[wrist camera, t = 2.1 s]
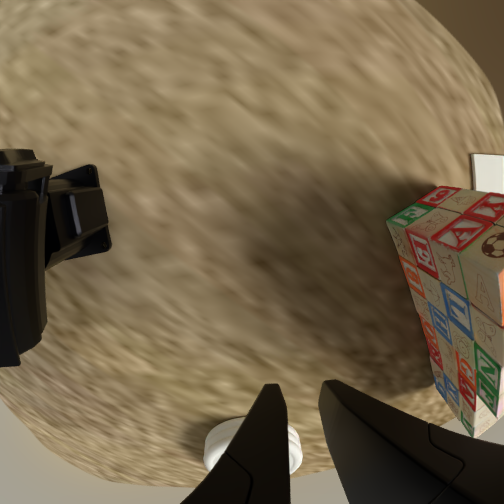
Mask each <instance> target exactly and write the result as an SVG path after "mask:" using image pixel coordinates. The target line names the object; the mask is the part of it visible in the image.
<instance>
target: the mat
mask: <svg viewBox="0 0 504 504" xmlns="http://www.w3.org/2000/svg"><path fill="white" fill-rule="evenodd" d="M471 159H472V170H473V186H474V190H475V191H482V192H488V193H489V192H494V193H500V194H504V156H499V155H483V154H471Z"/></svg>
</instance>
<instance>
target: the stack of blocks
mask: <svg viewBox="0 0 504 504" xmlns="http://www.w3.org/2000/svg"><path fill="white" fill-rule="evenodd" d="M386 224H387V226H388V228H389V231H390V233H391V236H392V238H393V241H394V243H395V246H396V249H397V251H398V254H399V259H400V262H401V265H402V268H403V270H404V273H405V276H406V279H407V282H408V285H409V288H410V291H411V295H412V298H413V301H414V304H415V307H416V310H417V312H418V313H419V317H420V320H421V324H422V327H423V331H424V335H425V337H426V341H427V345H428V349H429V353H430V357H429V358H430V362H431V367H432V372H433V375H434V380H435V385H436V389H437V390H438V391H439V393H440V394H441V395H442V397H443V398H444V400H445V401H446V403H447V404H448V406H449V407H450V408H451V410H452V411H453V413H454V414H455V416H456V417H457V419H458V420H459V421H461V422H462V424H463V425H464V427H465V428H466V430H467V431H468V433H469V434H470V436H471V437H472V438H477V437H478V436H479V435H480V434H482V433H483V432H484V431H485V430H487V429H488V428H489V427H491V426H492V425H493V424H494V423H495V422H496V421H497V420H498V419H500V418H501V417H502V416H503V415H504V194H500V193H494V192H489V193H488V192H482V191H475V190H467V189H461V188H456V187H448V186H439V187H437V188H436V189H434V190H433V191H431V192H430V193H428V194H427V195H425V196H423V197H422V198H420V199H419V200H417V201H416V203H414V204H412V205H410V206H409V207H407V208H405V209H404V210H402V211H401V212H399V213H397V214H396V215H394V216H392V217H391V218H389V219H387V220H386Z"/></svg>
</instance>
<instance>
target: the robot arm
mask: <svg viewBox="0 0 504 504" xmlns="http://www.w3.org/2000/svg"><path fill="white" fill-rule="evenodd" d="M52 168H53V165H47V164H45V161H39V160H38V159H36V157H35V155H34V152H33V150H29V149H0V368H1V367H12V366H19V365H20V364H21V361H20V357H19V355H21V354H22V353H24V352H26V351H28V350H30V349H32V348H33V347H34V346H35V345H37V344H38V343H39V342H40V341H41V339H42V337H41V334H42V332H43V330H44V328H45V326H46V324H47V309H46V295H45V271H46V270H48V269H50V268H51V267H53V266H55V265H56V264H58V263H60V262H62V261H64V260H68V259H73V258H78V257H83V256H88V255H93V254H98V253H103V252H107V251H108V250H110V249H111V247H112V243H111V238H110V234H109V230H108V225H107V224H108V217H107V212H106V207H105V202H104V197H103V191H102V189H101V188H100V184H99V178H98V172H97V168H96V166H95V165H93V164H89V165H85V166H83V167H80V168H77V169H74V170H71V171H69V172H66V173H64V174H61V175H58V176H56V177H53V178H51V179H49V177H50V175H51V174H52ZM90 168H91V169H92V173H91V174H89V169H90ZM103 242H105V243H106V245H107V247H104V245H103ZM318 406H319V411H320V416H321V420H322V425H323V430H324V434H325V439H326V443H327V446H328V449H329V452H330V454H331V457H332V460H333V462H334V465H335V467H336V470H337V472H338V475H339V478H340V481H341V483H342V486H343V488H344V491H345V494H346V496H347V499H348V502H349V504H504V445H501V444H496V443H492V442H488V441H484V440H480V439H476V438H472V437H469V436H465V435H462V434H458V433H455V432H453V431H449V430H447V429H444V428H442V427H439V426H437V425H434V424H432V423H429V424H428V422H426V421H424V420H421V419H419V418H417V417H414V416H412V415H410V414H407V413H405V412H403V411H401V410H398V409H396V408H394V407H392V406H390V405H388V404H385V403H383V402H381V401H379V400H377V399H375V398H373V397H371V396H369V395H367V394H365V393H362V392H360V391H358V390H356V389H354V388H352V387H350V386H348V385H346V384H345V383H343V382H341V381H339V380H336V379H334V380H325V381H324V382H323V383H322V387H321V392H320V396H319V402H318ZM180 504H291V502H290V464H289V438H288V416H287V406H286V403H285V400H284V397H283V394H282V392H281V389H280V386H279V384H265V385H264V386H263V388H262V390H261V391H260V393H259V395H258V397H257V398H256V400H255V402H254V404H253V405H252V407H251V409H250V410H249V412H248V414H247V415H246V417H245V419H244V420H243V422H242V424H241V425H240V427H239V429H238V430H237V432H236V434H235V435H234V437H233V438H232V440H231V442H230V443H229V445H228V446H227V448H226V449H225V451H224V453H223V454H222V455H221V457H220V458H219V460H218V461H217V463H216V464H215V465H214V467H213V468H212V469H211V471H210V472H209V473H208V475H207V476H206V477H205V478H204V480H203V481H202V482H201V483H200V484H199V485H198V486H197V487H196V488H195V490H194V491H193V492H192V493H191V494H190V495H189V496H187V497H186V498H185V499H184V500H183V501H182V502H181V503H180Z"/></svg>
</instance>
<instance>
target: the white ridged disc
mask: <svg viewBox="0 0 504 504" xmlns="http://www.w3.org/2000/svg"><path fill="white" fill-rule="evenodd" d="M244 419H245V417H241V418H235V419H231V420H228V421H225V422H223V423H221V424H219V425H217V426H215V427H214V428H213V429H212V430H211V431H210V432H209V434H208V435H207V437H206V440H205V448H204V453H205V454H204V457H203V461H204V464H205V467H206V468H207V470H208V471H209V472H210V471H211V469H212V468H213V467H214V465H215V464H216V463H217V461H218V460H219V458H220V457H221V455H222V454H223V453H224V451H225V449H226V448H227V446H228V445H229V443H230V442H231V440H232V438H233V437H234V435H235V434H236V432H237V430H238V429H239V427H240V425H241V424H242V422H243V420H244ZM288 438H289V464H290V474H292V473H293V472H294V471H295V470H296V469H297V468H298V467H299V466H300V464H301V462H302V457H303V455H302V451H301V445H300V442H299V436H298V434H297V432H296V431H295V429H294V428H293V427H292V426H290V425H289V424H288Z"/></svg>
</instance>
